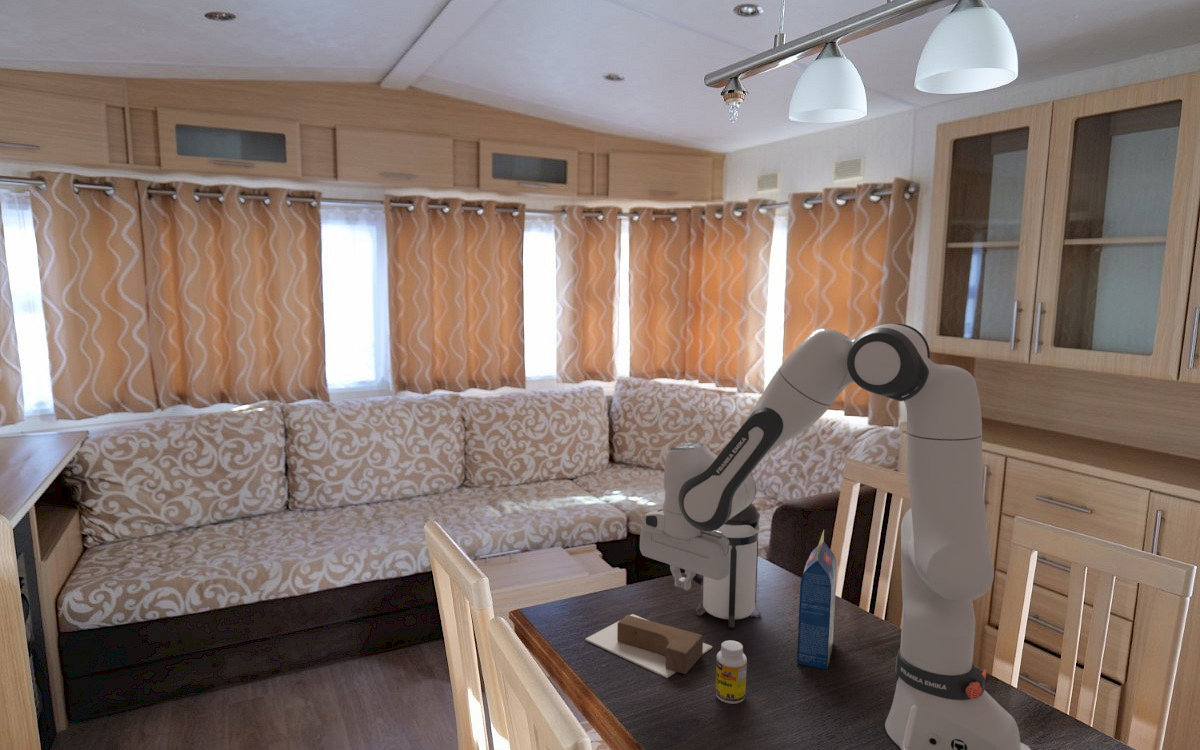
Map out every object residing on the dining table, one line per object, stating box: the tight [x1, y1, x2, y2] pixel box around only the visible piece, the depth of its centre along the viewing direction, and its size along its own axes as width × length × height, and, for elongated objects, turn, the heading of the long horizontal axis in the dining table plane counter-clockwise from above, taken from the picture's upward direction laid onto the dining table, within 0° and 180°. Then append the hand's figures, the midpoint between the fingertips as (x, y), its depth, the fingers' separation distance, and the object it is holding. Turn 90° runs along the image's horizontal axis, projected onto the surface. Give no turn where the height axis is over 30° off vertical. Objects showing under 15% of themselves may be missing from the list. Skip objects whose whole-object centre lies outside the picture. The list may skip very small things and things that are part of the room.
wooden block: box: [617, 614, 704, 675], centre depth 148 cm, size 9×4×18 cm
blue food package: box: [796, 529, 838, 670], centre depth 148 cm, size 6×12×25 cm, turn 157°
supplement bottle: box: [715, 639, 748, 705], centre depth 133 cm, size 6×6×10 cm
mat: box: [584, 613, 713, 679], centre depth 153 cm, size 22×16×1 cm
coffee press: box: [692, 502, 762, 631], centre depth 166 cm, size 17×16×30 cm
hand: (682, 587), depth 145 cm, fingers closed
